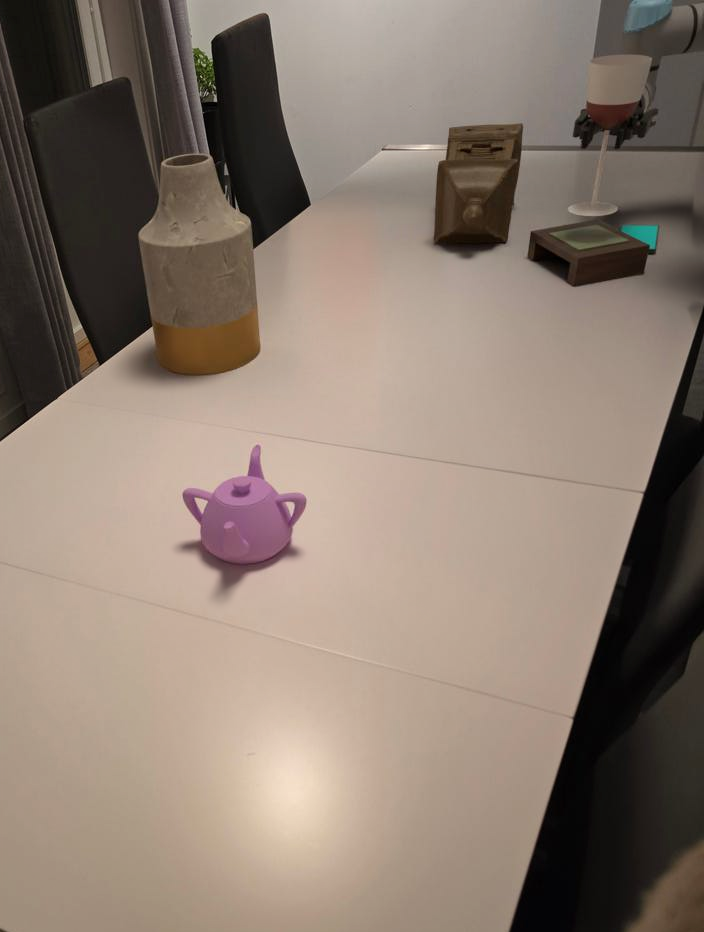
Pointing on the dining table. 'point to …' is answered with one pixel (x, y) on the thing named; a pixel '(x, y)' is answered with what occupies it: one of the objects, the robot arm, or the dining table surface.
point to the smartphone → (643, 234)
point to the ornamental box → (477, 183)
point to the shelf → (590, 251)
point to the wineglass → (611, 108)
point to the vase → (199, 272)
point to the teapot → (245, 516)
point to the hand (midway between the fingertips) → (601, 139)
